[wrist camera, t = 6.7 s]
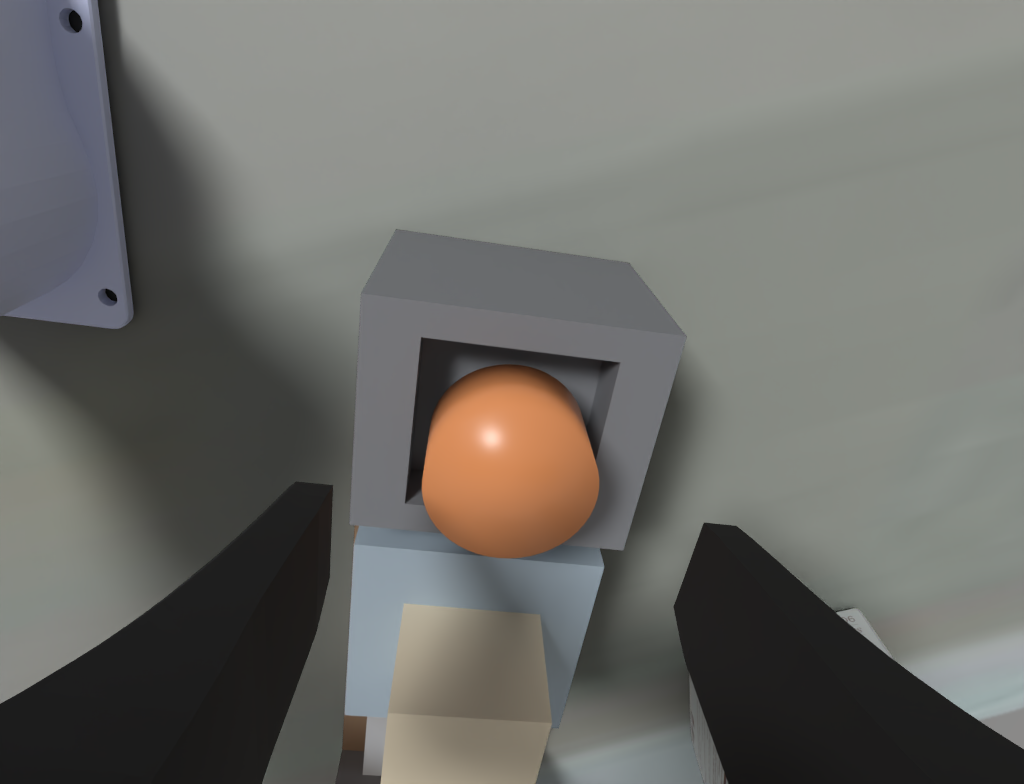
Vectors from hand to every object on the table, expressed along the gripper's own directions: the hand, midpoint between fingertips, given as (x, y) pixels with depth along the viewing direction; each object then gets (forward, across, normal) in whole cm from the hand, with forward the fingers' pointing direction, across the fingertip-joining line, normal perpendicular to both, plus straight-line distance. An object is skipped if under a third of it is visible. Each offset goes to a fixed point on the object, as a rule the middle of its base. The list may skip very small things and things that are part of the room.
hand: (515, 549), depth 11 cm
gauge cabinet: (+10, 0, 0) cm, 10 cm away
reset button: (+4, 0, 0) cm, 4 cm away
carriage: (+7, 0, +8) cm, 11 cm away
